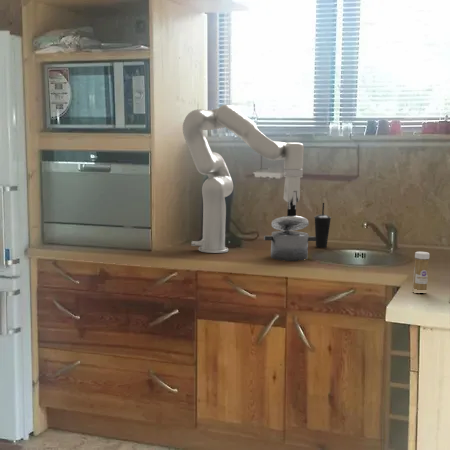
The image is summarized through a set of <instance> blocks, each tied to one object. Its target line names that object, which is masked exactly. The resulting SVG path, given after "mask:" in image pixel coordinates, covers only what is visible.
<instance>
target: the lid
mask: <svg viewBox="0 0 450 450" xmlns="http://www.w3.org/2000/svg"><path fill="white" fill-rule="evenodd" d="M309 223H310V222H309V220H308V219H307V218H306V217H303V216H299V215H296V216H287V215H285V216H280V217H276V218H274V219H272V221H271V227H272V228H273V229H275V230H276V231H298V230H299V231H300V230H303V229H305V228H307V227H308V226H309Z"/></svg>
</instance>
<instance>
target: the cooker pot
mask: <svg viewBox="0 0 450 450" xmlns="http://www.w3.org/2000/svg"><path fill="white" fill-rule="evenodd" d="M263 241H270V243H271V244H270V258H271V259H273V260H276V261H283V260H285V262H299V261H298V260H303V261H305V260H304V259H307V260H308V254H309V252H308V251H309V242H316V237H315V235H314V236H313V235H312V236H311V235H310V236H309V233H307V232H303V231H298V230H294V231H282V230H275V231H272V232H271V235H263Z"/></svg>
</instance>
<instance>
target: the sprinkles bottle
mask: <svg viewBox="0 0 450 450" xmlns="http://www.w3.org/2000/svg"><path fill="white" fill-rule="evenodd" d="M430 255H431V254H430V253H429V252H427V251H416V252H414V268H413V284H412V285H413V287H412V289H413V288H414V289H417V290H427V289H428V287H427V286H428V276H429V262H430V260H429V259H430ZM427 291H428V290H427Z"/></svg>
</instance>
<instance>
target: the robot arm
mask: <svg viewBox="0 0 450 450" xmlns="http://www.w3.org/2000/svg"><path fill="white" fill-rule="evenodd" d="M223 128H224V129H227V130H228V131H230V132H231V133H232V134H234V135H236V136H237V137H238V138H239V139H241V140H242V141H243V142H244V143H245V144H246V145H247V146H248V147H249V148H251V150H252V151H254V152H256V153H257V154H258V155H259V156H261V157H263V158H264V159H265V160H268V161H279V160H281V161H282V160H284V162H283V177H284V187H283V200H284V201H285V202H286V203H287V212H286V216H297V203H298V202H299V201H300V200H301V199H300V197H301V178H303V177H304V176H303V175H304V173H303V172H304V170H303V168H304V149H305V145H304V144H303V143H301V142H284V141H278V140H272V139H271V138H269V137H268V136H266V135H265V134H264V133H262V131H260V130H259V129H258V125H257V124H256V123H255V122H254V121H253V120H252V119H250V118H249V117H248V116H246V115H245V114H243V112H242V111H241V109H240V108H239V107H238V106H235V105H232V104H222V105H221V106H219V107H218V108H214V109H201V108H200V109H199V108H198V109H194V110H192V111H190V112H189V113H188V114H187V115H186V116H185V118H184V119H183V122H182V134H183V137H184V140H185V143H186V145H187V147H188V150H189V153H190V155H191V157H192V158H191V159H192V161H193V163H194V166H195V168H196V170H197V172H198V173H199V174H201V175H204V176H207V177H208V178H207V179H205V181H204V182H203V184H202V187H201V194H202V195H201V196H202V203H203V205H202V207H203V209H202V213H203V214H202V215H203V217H202V239H201V240H196V241H193V240H191V246H192V247H198V251H199V252H202V253H208V254H222V253H228V252H229V248H228V247H226V221H227V219H226V217H227V204H226V199H225V198H226V197H228V196H230V195H231V194H232V193H233V190H234V182H233V179H232V177H231V174H230V172H229V168H228V166H227V163H226V161H225V160H224V158H223V156H222V155H221V154H220V153H218V152H215V151H212V149H211V146H210V144H209V142H208V141H209V140H208V139H207V138H206V136H205V133H204V132H203V131H213V130H217V129H223Z"/></svg>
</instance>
